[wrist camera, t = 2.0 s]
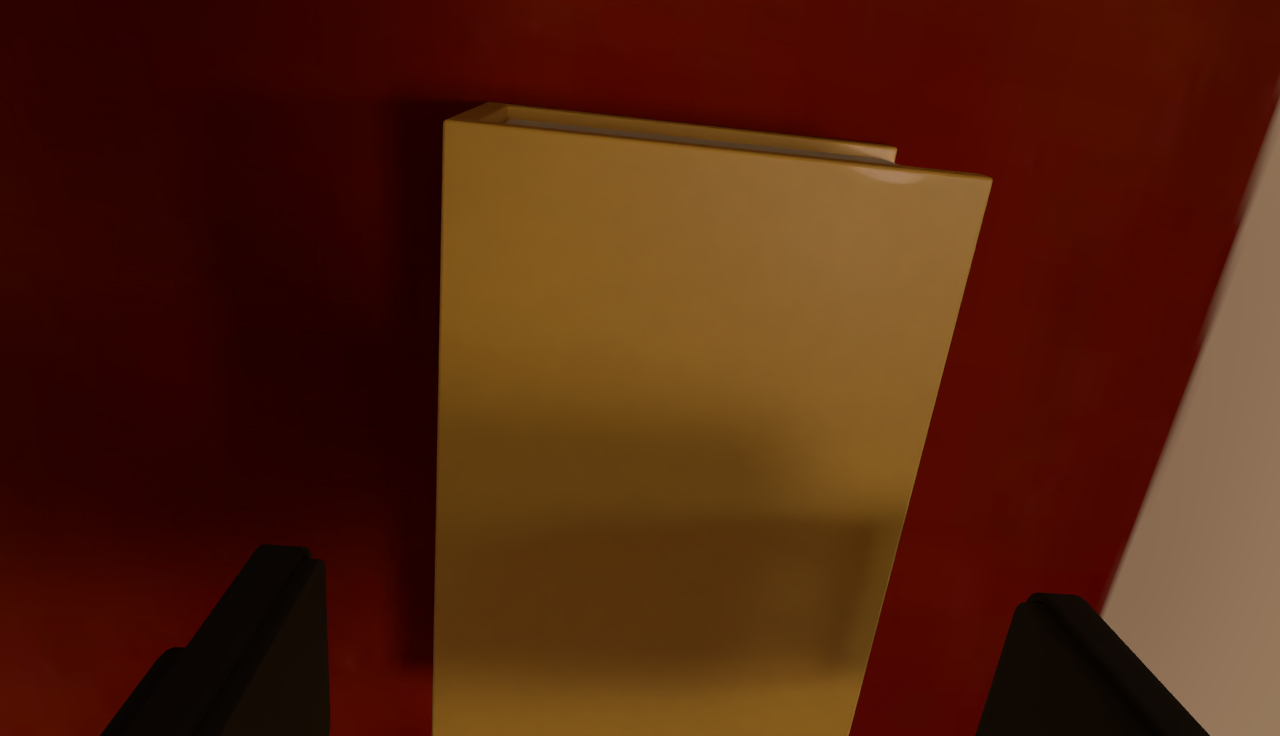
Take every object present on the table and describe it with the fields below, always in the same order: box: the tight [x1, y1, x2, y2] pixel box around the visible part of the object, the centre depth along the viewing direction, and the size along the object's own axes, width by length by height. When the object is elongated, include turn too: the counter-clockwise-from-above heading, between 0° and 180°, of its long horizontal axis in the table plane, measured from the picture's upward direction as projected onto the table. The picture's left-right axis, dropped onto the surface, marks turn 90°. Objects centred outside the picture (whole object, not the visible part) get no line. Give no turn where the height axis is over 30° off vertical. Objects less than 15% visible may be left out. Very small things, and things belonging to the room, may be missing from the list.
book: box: [432, 102, 992, 736], centre depth 14 cm, size 12×7×4 cm, turn 174°
